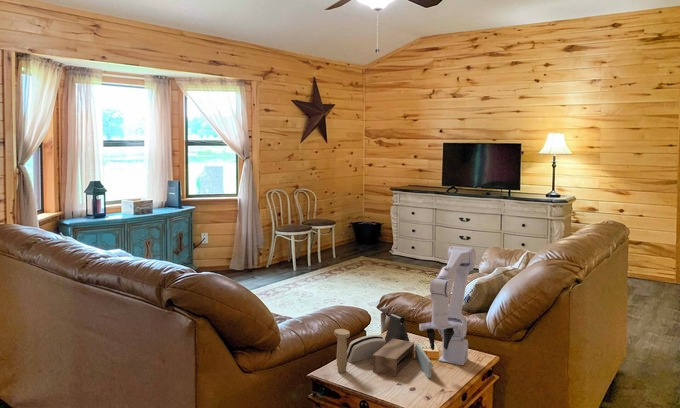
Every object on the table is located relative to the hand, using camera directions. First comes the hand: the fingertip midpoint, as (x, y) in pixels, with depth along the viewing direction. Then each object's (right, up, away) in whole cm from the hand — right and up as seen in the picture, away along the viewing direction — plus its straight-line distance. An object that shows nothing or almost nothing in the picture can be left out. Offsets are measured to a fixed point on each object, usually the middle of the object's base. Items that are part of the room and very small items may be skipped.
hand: (439, 348), depth 202 cm
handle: (-35, -9, +3) cm, 36 cm away
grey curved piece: (-26, -8, +16) cm, 31 cm away
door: (-5, -8, +5) cm, 11 cm away
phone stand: (-12, -6, +31) cm, 34 cm away
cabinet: (-15, -8, +9) cm, 20 cm away
